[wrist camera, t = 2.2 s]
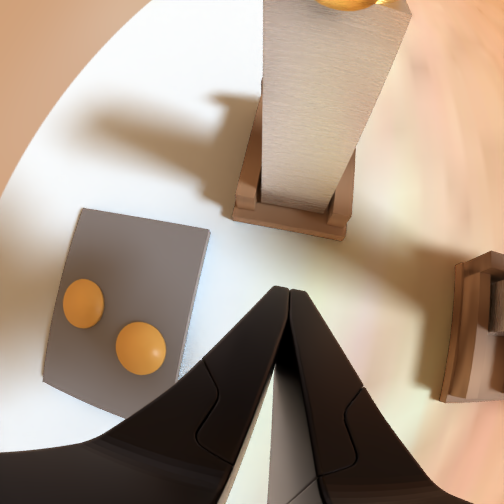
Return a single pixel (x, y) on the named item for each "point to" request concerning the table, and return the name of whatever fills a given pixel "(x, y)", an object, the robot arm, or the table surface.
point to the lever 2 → (496, 309)
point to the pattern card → (123, 310)
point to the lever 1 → (321, 90)
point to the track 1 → (286, 217)
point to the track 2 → (474, 335)
